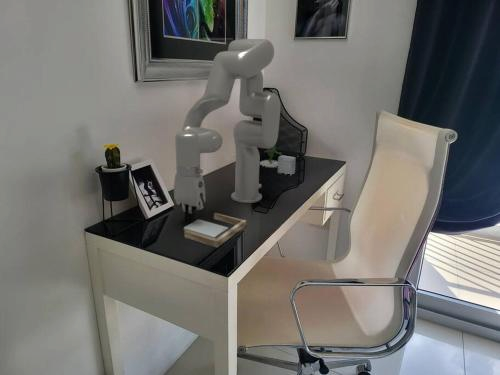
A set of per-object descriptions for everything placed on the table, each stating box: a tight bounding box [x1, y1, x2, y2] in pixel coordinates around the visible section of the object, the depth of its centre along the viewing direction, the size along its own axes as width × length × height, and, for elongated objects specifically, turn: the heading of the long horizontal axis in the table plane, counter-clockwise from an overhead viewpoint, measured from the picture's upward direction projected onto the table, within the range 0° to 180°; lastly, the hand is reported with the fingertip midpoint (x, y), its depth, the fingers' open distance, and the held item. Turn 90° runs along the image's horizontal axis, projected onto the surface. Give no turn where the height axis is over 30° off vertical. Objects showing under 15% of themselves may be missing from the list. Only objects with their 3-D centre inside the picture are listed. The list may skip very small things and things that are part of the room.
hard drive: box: [183, 219, 230, 239], centre depth 112 cm, size 2×8×12 cm
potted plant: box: [259, 145, 284, 168], centre depth 190 cm, size 12×12×10 cm
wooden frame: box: [184, 212, 247, 248], centre depth 111 cm, size 17×12×2 cm
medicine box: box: [277, 154, 297, 176], centre depth 175 cm, size 8×4×9 cm, turn 58°
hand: (189, 222), depth 116 cm, fingers closed
